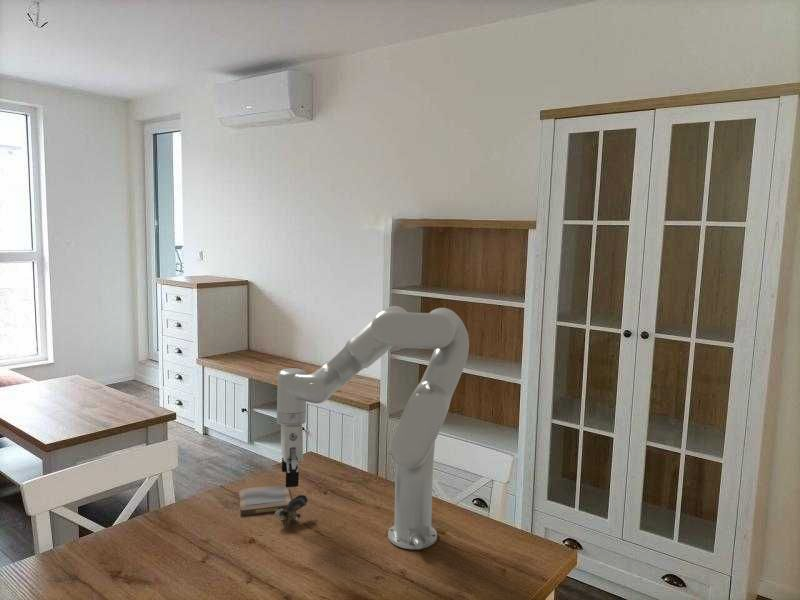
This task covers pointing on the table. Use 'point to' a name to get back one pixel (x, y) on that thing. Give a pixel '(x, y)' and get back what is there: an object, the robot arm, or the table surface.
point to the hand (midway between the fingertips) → (289, 478)
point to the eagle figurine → (292, 509)
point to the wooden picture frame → (263, 499)
